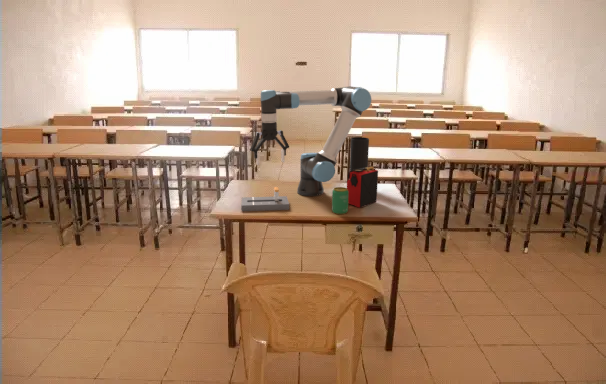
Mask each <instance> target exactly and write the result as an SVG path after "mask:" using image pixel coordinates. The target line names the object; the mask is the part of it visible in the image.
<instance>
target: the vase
mask: <svg viewBox="0 0 606 384" xmlns="http://www.w3.org/2000/svg"><path fill="white" fill-rule="evenodd" d="M369 145H370V138H368V137H361V136H357V137H355V136H354V137H351V138H350V154H349V155H350V156H349V157H350V158H349V163H350V164H349V172H350V171H353V169H359V168H365V167H368V165H369V148H370V146H369Z"/></svg>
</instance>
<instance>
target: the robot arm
mask: <svg viewBox="0 0 606 384" xmlns="http://www.w3.org/2000/svg"><path fill="white" fill-rule="evenodd" d="M371 95H372V94H371V92H369V90H367V89H366V88H364V87H361V86H360V87H359V86H343V87H335V88H334V87H333V88H331V89H327V90H297V91H296V90H294V91H292V90H291V91H280V90H279V91H276V90H275V89H264V90H263V89H262V90H261V91H260V108H261V109H260V111H261V115H260V116H261V132H258V131H256V132H255V137H254V139H253V142H252V143H251V146H250V149H249V150H250V151H251V152H253V157H254V159H255V161H256V162H255V163H256V165H257V166H259V165H260V153H259V151H260V149H261V148H262V146H263V145H264V144H265V142H266V141H275V142H276V143H277V144H278V145H279V146H280V148H281V149H280V155H281V156H280V158H281V159H280V160H281V162H282V163H285V162H286V161H285V156H286V155H287V149H290V145H289V144H288V141H287V139H286V137H285V136H284V131H283V130H281V129H279V130H278V128H277V127H278V126H277V125H278V122H277V119H278V118H277V110H285V109H287V110H289V109H292V110H294V109H297V108H299V107H300V106H318V105H319V106H321V105H331V106H332V107H340V108H341V111H340V114H339V116H338V117H337V119H336V122H335V123H334V125H333V127H332V130H331V132H330V133H329V134H328V135H329V136H328V137H327V139H326V141H325V142H324V143H325V144H324V145H323V147H322V149H321V150H320V151H317V152H305V153H301V155H300V159H299V160H300V161H299V162H300V166H299V167H300V180H299V183H298V186H297V189H296V190H297V191H296V192H297V194H298V195H301V196H305V197H306V196H307V197H316V196H317V197H318V196H321V195H323V194H324V192H325V191H324V190H325V189H324V186H323V183H327V182H329V181H331V180H332V179H333V178H334V176H335V174H336V164H337V163H338V162H337V157H338V154H339V153H340V151H341V149H342V146H343V145H344V143H345V141H346V139H347V136H349V133H350V131H351V130H352V127H353V125H354V123H355V122H356V119H358V118H360V117H361V115H362V113H363V112H365V111H366V110H368V109H370V106H371V105H372V96H371ZM277 136H279V137H280V138H281V140H282V142H281V140H280V139H279V138H278V137H277ZM260 137H261V138H260ZM258 141H259V142H258Z"/></svg>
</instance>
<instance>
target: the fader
mask: <svg viewBox="0 0 606 384" xmlns="http://www.w3.org/2000/svg"><path fill="white" fill-rule="evenodd" d="M279 192H280V191H279V187H278V186H275V187H273V194H274V195H273V197H274V201H279V196H280V195H279Z"/></svg>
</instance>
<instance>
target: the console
mask: <svg viewBox="0 0 606 384" xmlns="http://www.w3.org/2000/svg"><path fill="white" fill-rule="evenodd" d="M240 205H241V209H240V210H241V212H255V211H256V212H260V211H263V212H264V211H289V210H290V202H289V199H288V196H286V195H283V196H281V195H279V201H274V196H247V197H245V196H244V197H243V196H242V197H241V204H240Z"/></svg>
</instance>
